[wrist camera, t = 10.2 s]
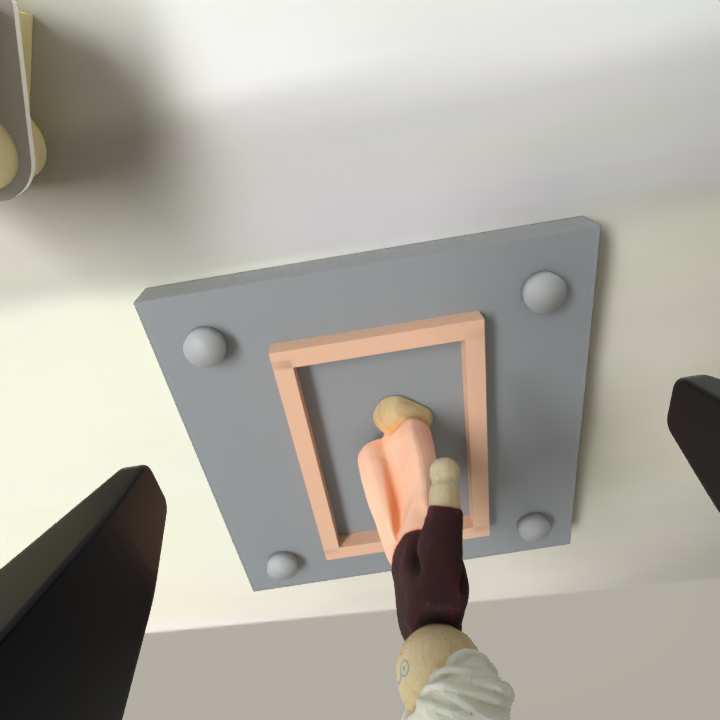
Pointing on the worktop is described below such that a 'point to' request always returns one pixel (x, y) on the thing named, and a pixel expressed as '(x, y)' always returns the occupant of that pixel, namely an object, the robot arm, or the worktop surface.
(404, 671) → the grandmother figurine
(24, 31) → the stacked layers on plate
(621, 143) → the worktop surface
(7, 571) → the robot arm
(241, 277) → the base plate
